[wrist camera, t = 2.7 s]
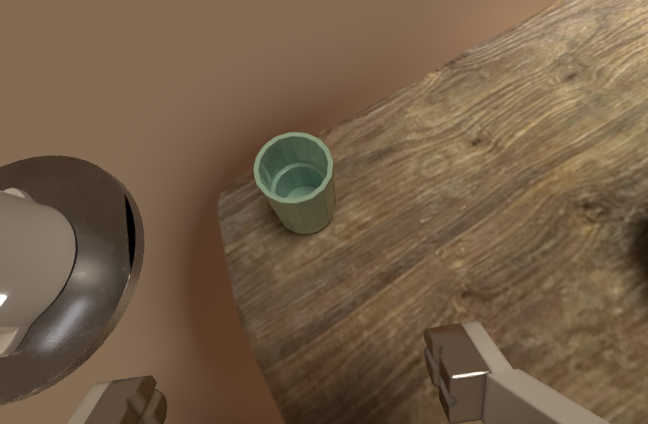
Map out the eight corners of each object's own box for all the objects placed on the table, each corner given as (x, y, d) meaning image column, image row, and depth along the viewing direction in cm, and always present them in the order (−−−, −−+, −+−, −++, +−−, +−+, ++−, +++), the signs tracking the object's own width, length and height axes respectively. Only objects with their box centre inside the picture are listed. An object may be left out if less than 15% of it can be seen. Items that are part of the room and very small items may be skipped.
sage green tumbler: (285, 243, 30) (263, 213, 22) (272, 190, 32) (246, 144, 24) (343, 225, 30) (343, 189, 22) (325, 174, 32) (319, 123, 24)
